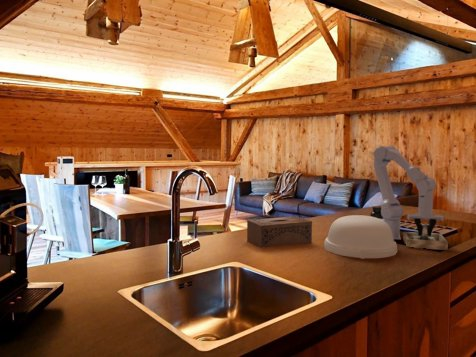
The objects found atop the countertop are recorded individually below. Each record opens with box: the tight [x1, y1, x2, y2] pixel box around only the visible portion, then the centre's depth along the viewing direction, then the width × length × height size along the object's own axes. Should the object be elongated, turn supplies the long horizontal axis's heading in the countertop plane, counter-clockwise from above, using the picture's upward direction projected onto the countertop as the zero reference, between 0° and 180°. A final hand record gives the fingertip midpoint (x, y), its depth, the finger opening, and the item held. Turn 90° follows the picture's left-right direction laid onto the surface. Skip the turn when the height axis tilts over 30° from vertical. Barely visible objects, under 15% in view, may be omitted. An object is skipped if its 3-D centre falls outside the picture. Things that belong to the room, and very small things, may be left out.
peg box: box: [402, 231, 449, 251], centre depth 182 cm, size 16×16×4 cm
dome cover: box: [323, 214, 398, 260], centre depth 174 cm, size 32×30×14 cm
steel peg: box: [420, 223, 429, 240], centre depth 182 cm, size 4×4×7 cm
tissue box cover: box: [246, 215, 313, 249], centre depth 187 cm, size 26×14×10 cm, turn 113°
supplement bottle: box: [369, 205, 383, 219], centre depth 214 cm, size 7×7×12 cm
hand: (424, 235), depth 182 cm, fingers closed on steel peg, 3 cm apart
